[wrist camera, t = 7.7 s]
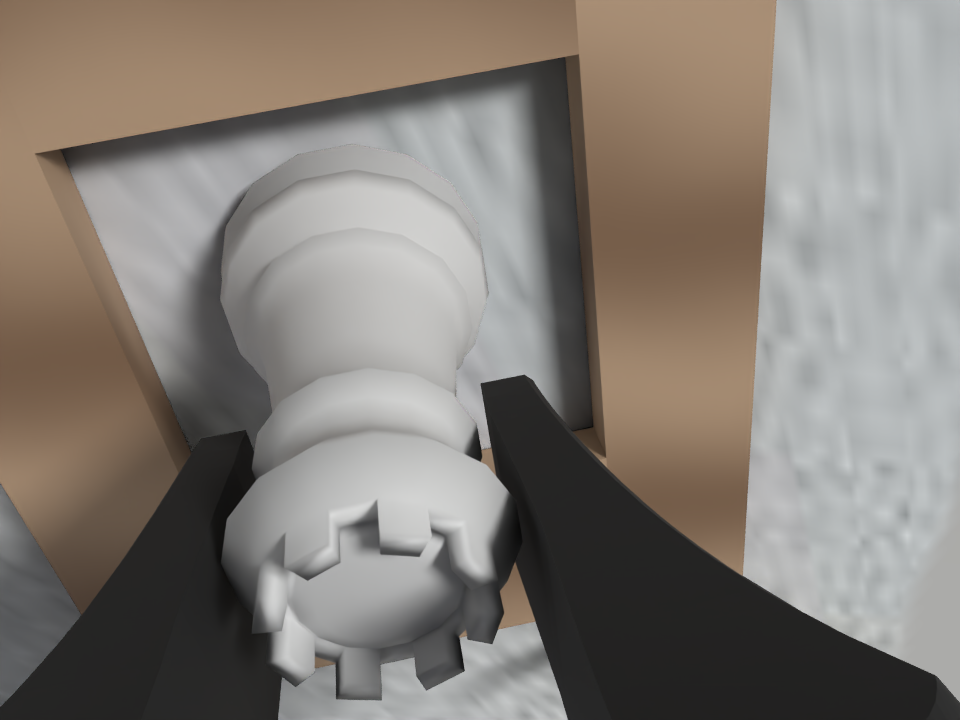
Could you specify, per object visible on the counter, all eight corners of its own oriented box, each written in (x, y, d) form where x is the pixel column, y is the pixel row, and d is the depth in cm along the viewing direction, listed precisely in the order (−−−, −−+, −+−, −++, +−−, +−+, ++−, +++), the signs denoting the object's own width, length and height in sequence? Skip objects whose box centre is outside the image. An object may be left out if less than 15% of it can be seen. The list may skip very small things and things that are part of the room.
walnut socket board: (726, 545, 21) (742, 577, 20) (145, 668, 20) (137, 705, 20) (763, -362, 11) (798, -371, 10) (-349, -181, 11) (-404, -176, 10)
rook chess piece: (420, 390, 17) (482, 774, 11) (191, 321, 16) (95, 724, 9) (523, 191, 15) (679, 516, 9) (271, 89, 14) (226, 392, 7)
